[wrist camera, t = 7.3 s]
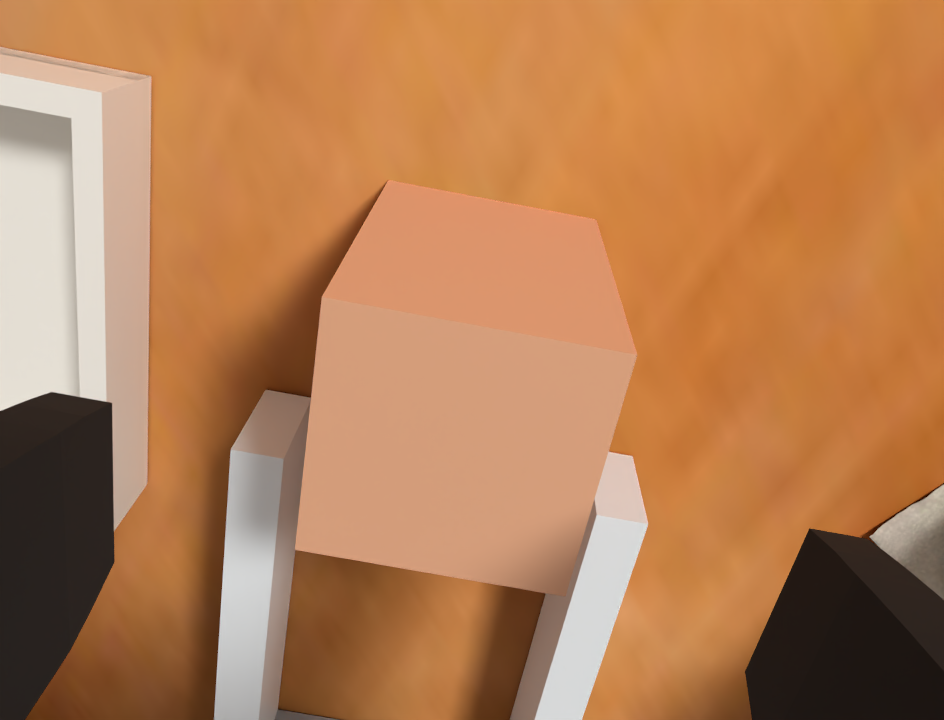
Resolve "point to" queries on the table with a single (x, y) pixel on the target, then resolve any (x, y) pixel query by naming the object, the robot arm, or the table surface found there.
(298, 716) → the grey u-shaped piece
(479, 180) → the table surface
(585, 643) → the channel
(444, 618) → the table surface
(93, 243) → the tray
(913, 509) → the condiment
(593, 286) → the block
